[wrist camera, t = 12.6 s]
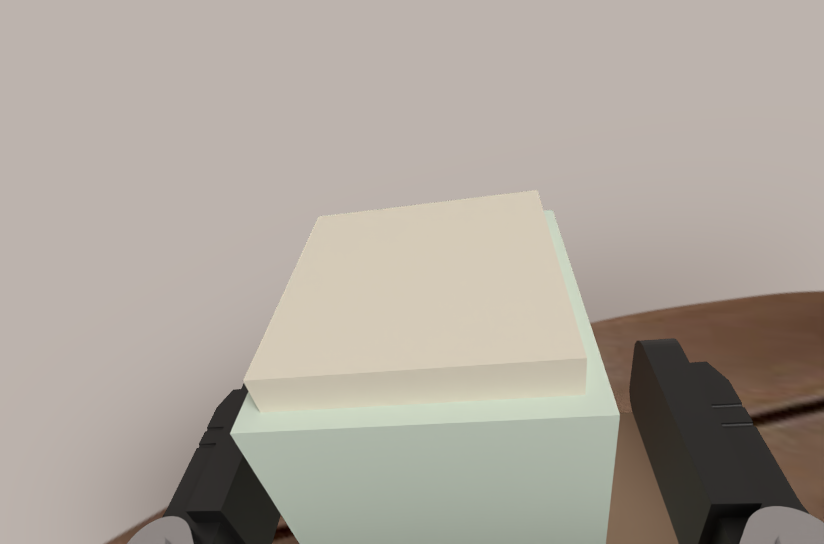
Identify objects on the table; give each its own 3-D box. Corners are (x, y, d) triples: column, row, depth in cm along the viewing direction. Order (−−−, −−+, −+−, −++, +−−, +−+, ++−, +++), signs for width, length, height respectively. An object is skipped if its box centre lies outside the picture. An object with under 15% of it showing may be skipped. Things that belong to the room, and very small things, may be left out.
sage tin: (555, 516, 15) (552, 180, 9) (587, 708, 12) (624, 377, 5) (412, 518, 16) (307, 210, 9) (398, 700, 12) (210, 401, 6)
